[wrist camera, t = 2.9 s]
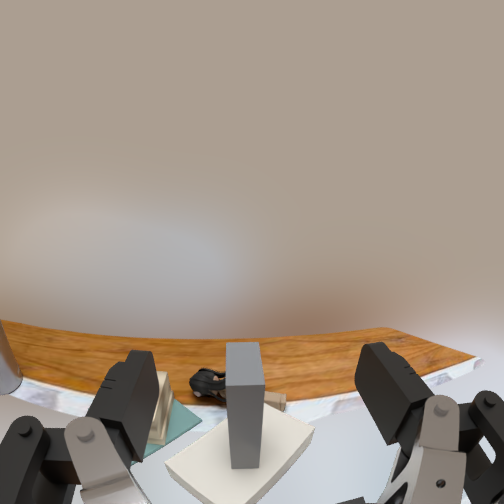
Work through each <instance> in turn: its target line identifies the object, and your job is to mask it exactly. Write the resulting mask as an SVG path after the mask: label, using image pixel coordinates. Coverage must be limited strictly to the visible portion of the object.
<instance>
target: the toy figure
mask: <svg viewBox="0 0 504 504" xmlns="http://www.w3.org/2000/svg"><path fill="white" fill-rule="evenodd" d="M224 377H226V372H225V371H224V373H219V371H218V372H216V370H215V371H213V369H212V370H210V368H209V369H206V367H203V368H202V369H201V368H200V370H199V371H198V372H197V373H196V374H194V375H193V376H192V377H191V378H190V381H189V384H190V386H191V388H192V390H193V391H194V392H193V393H194V394H195V395H196V396H198V397H199V396H206V395H212V396H214V397H213V398H215V397H216V398H217V399H218V400H220V401H223V402H226V399H221V398H219V397H218V396H216V394H217V393H218V392H219V393H220V395H221V396H222V397H224V398H226V378H224ZM219 378H224V379H222V380H219ZM208 397H209V396H208ZM264 403H265V404H267V405H269V406H271V407H273V408H275V409H277V410H279V411H284V409H285V405H286V394H280V393H273V392H266V391H265V395H264Z"/></svg>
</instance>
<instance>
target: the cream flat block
mask: <svg viewBox="0 0 504 504" xmlns="http://www.w3.org/2000/svg"><path fill="white" fill-rule="evenodd" d="M314 430H315V427H314V426H311V425H309V424H307V423H305V422H303V421H300V420H298V419H296V418H294V417H292V416H290V415H288V414H285V413H283V412H281V411H279V410H277V409H275V408H273V407H271V406H269V405H267V404H265V403H264V410H263V424H262V437H261V450H260V462H259V468H253V469H231V458H230V445H229V432H228V418H226V419H225V420H223V421H222V422H221V423H219V424H218V425H217V426H215V427H214V428H213V429H211V430H210V431H209V432H207V433H206V434H205V435H203V436H202V437H201V438H199V439H198V440H196V441H195V442H194V443H192V444H191V445H189V446H188V447H186V448H185V449H183V450H182V451H180V452H179V453H178V454H176V455H174V456H173V457H171V458H170V459H168V460H167V461H165V462H164V463H165V465H166V468H167V470H168V472H169V474H170V476H171V477H172V478H173V479H174V480H175V481H176V482H178V483H179V484H180V485H181V486H182V487H183V488H185V489H186V490H187V491H188V492H189V493H191V494H192V495H193V496H194V497H196V498H197V499H198V500H200V501H201V502H202V503H203V504H256V503H257V502H258V501H259V500H260V499H261V498H262V497H263V496H264V495H265V494H266V493H267V492H268V491H269V490H270V489H271V488H272V487H273V486H274V485H275V484H276V483H277V481H279V479H280V478H281V477H282V476H283V475H284V474H285V473H286V472H287V471H288V469H289V468H290V467H291V466H292V465H293V464H294V463H295V461H296V460H297V459H298V458H299V457H300V456H301V454H302V453H303V452H304V451H305V449H306V448H307V447H308V446H309V444H310V443H311V440H312V436H313V433H314Z"/></svg>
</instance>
